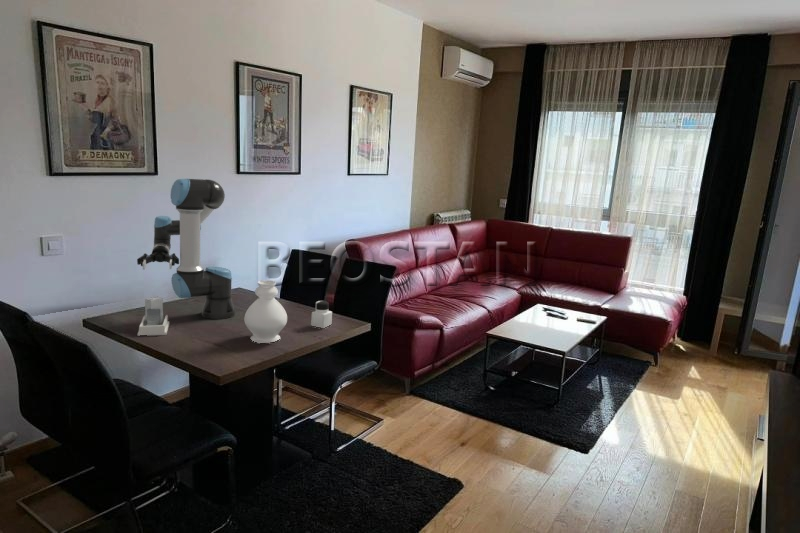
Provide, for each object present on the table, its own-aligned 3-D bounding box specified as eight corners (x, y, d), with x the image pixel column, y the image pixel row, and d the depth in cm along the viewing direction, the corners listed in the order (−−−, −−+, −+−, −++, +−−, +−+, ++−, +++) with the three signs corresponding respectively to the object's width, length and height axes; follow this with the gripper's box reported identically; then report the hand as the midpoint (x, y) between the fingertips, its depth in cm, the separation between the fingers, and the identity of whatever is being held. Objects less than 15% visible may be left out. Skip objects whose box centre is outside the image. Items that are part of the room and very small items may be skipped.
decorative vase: (264, 349, 217) (266, 289, 212) (235, 339, 226) (235, 281, 221) (295, 338, 232) (297, 282, 227) (265, 329, 241) (267, 275, 236)
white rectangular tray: (169, 323, 240) (169, 314, 239) (166, 334, 225) (166, 325, 224) (142, 324, 236) (142, 315, 235) (137, 335, 221) (137, 326, 220)
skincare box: (157, 322, 237) (157, 295, 235) (163, 324, 235) (163, 297, 233) (144, 325, 232) (144, 298, 230) (151, 327, 230) (150, 300, 227)
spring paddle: (160, 326, 231) (160, 308, 230) (160, 327, 230) (160, 309, 229) (147, 326, 229) (147, 308, 228) (147, 327, 228) (146, 309, 227)
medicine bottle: (331, 325, 253) (332, 301, 251) (323, 329, 247) (324, 304, 245) (319, 323, 256) (320, 298, 254) (310, 326, 250) (311, 301, 247)
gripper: (186, 259, 263) (184, 273, 243) (135, 260, 255) (129, 275, 236) (185, 245, 261) (184, 258, 241) (134, 245, 253) (128, 258, 233)
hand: (157, 266), depth 238 cm, fingers open, 10 cm apart
